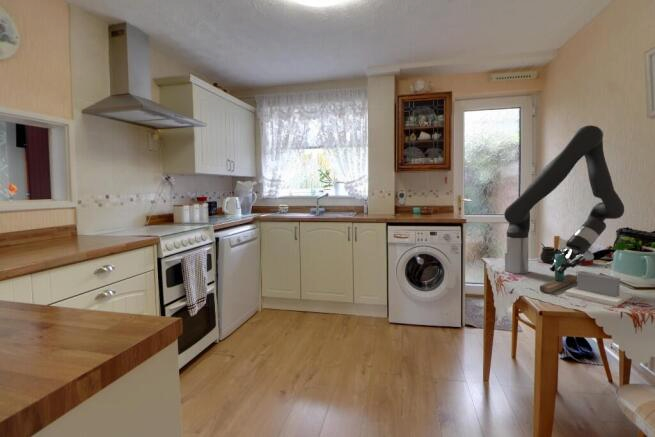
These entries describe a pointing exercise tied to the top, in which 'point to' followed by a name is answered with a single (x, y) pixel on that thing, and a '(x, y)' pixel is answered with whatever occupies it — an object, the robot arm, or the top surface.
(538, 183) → the robot arm
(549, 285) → the teal peg on base
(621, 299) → the ridge stand
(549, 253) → the mate gourd
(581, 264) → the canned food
